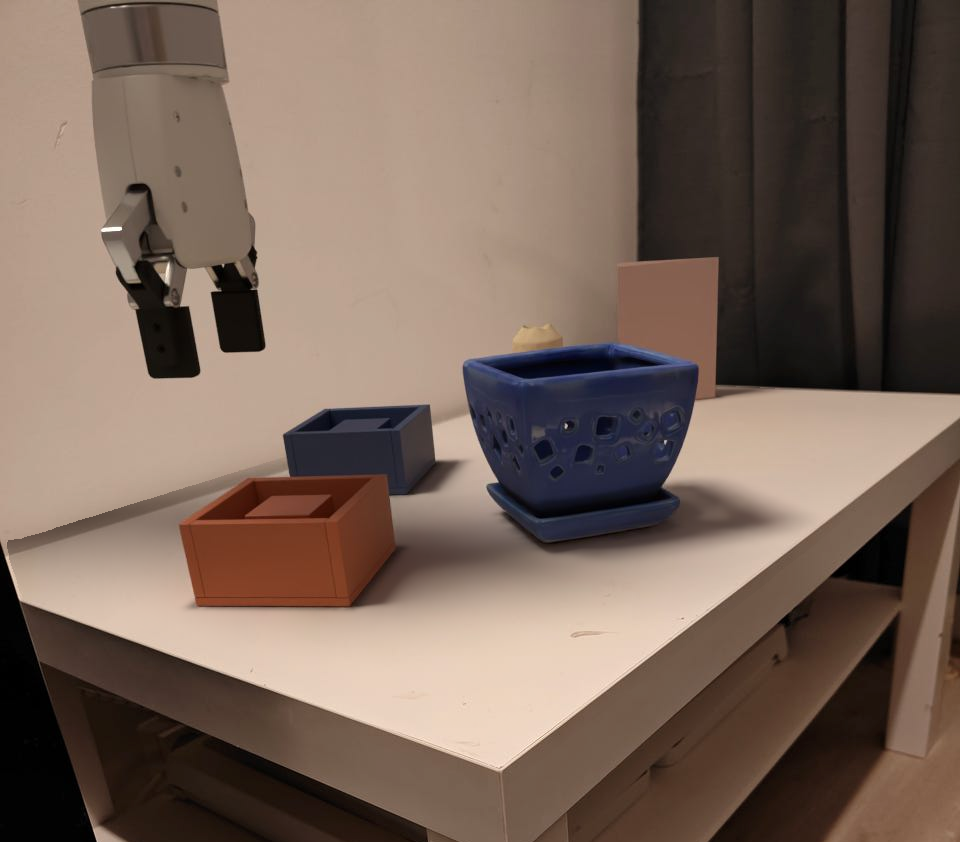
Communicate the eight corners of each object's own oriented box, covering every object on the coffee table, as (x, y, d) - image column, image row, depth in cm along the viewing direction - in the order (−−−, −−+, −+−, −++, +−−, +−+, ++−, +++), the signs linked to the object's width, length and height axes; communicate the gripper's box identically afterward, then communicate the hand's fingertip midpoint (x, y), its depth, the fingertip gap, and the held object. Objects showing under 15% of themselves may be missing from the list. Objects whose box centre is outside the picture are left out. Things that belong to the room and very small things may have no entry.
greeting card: (716, 395, 108) (720, 256, 102) (702, 409, 102) (705, 262, 96) (621, 395, 113) (619, 262, 107) (602, 408, 107) (599, 268, 101)
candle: (566, 410, 107) (562, 319, 103) (565, 421, 102) (561, 326, 98) (518, 413, 108) (512, 323, 104) (515, 424, 103) (509, 329, 99)
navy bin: (292, 496, 83) (282, 434, 81) (332, 465, 93) (324, 408, 90) (407, 494, 81) (399, 430, 79) (435, 462, 90) (430, 404, 88)
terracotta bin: (196, 606, 61) (177, 524, 59) (261, 550, 70) (247, 477, 68) (350, 606, 59) (337, 521, 56) (396, 549, 68) (386, 474, 66)
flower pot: (620, 485, 78) (618, 337, 73) (701, 529, 67) (705, 357, 62) (469, 511, 75) (456, 358, 70) (527, 561, 63) (516, 382, 58)
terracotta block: (256, 579, 63) (244, 515, 61) (282, 556, 67) (271, 495, 65) (319, 579, 62) (308, 514, 60) (341, 556, 66) (332, 494, 64)
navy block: (335, 480, 85) (328, 430, 83) (351, 467, 89) (344, 419, 87) (382, 478, 84) (376, 429, 82) (396, 465, 88) (390, 417, 86)
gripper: (172, 76, 62) (217, 345, 69) (2, 41, 46) (84, 390, 54) (278, 66, 60) (313, 342, 67) (139, 26, 45) (204, 388, 52)
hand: (211, 363), depth 61 cm, fingers open, 9 cm apart
